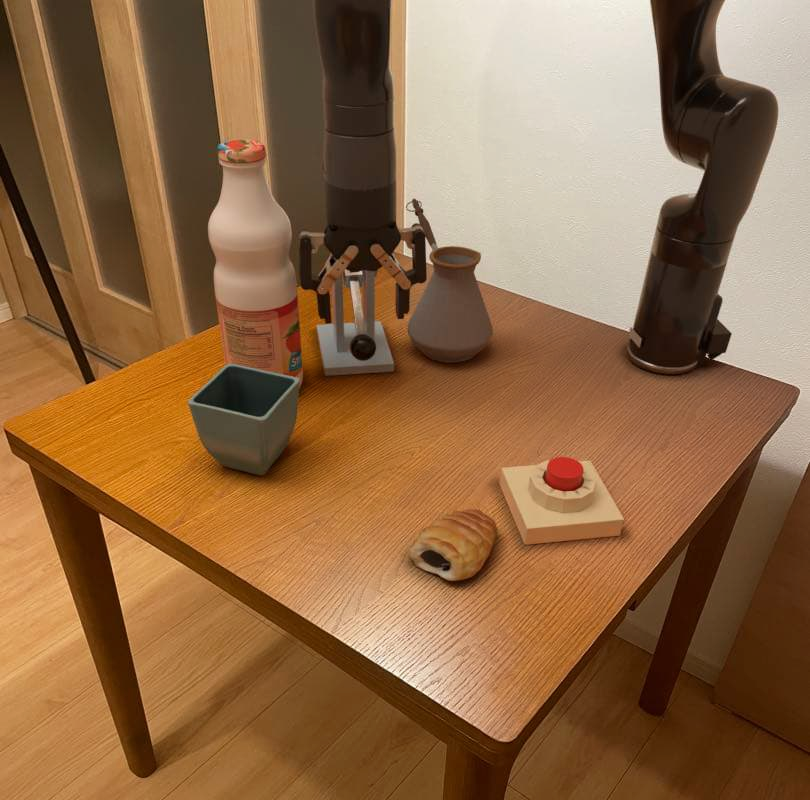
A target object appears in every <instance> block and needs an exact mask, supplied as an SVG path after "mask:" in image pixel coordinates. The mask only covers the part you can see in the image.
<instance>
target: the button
mask: <svg viewBox="0 0 810 800" xmlns="http://www.w3.org/2000/svg"><path fill="white" fill-rule="evenodd" d="M549 460H550V461H549V462H548V465H547V470H546V476H545V481H546V483H547V485H548V486H550V487H551V488H553V489H555V490H559V491H564V492H567V491H574V490H576V489H578V488H579V487H580V485H581V480H582V475H583V471H584V469H583V466H582V464H581V463H580V462H578V461H579V460H576V459H575V458H572V457H568V456H557V457H554V458H552V459H549Z"/></svg>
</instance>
